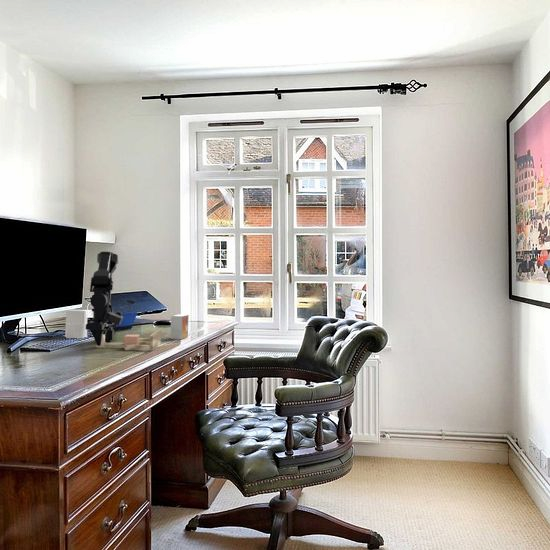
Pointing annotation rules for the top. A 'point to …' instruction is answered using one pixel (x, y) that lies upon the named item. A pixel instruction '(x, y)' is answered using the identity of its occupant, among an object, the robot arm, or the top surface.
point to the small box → (179, 326)
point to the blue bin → (126, 321)
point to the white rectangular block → (76, 324)
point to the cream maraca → (127, 340)
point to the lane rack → (147, 342)
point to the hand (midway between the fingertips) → (100, 344)
